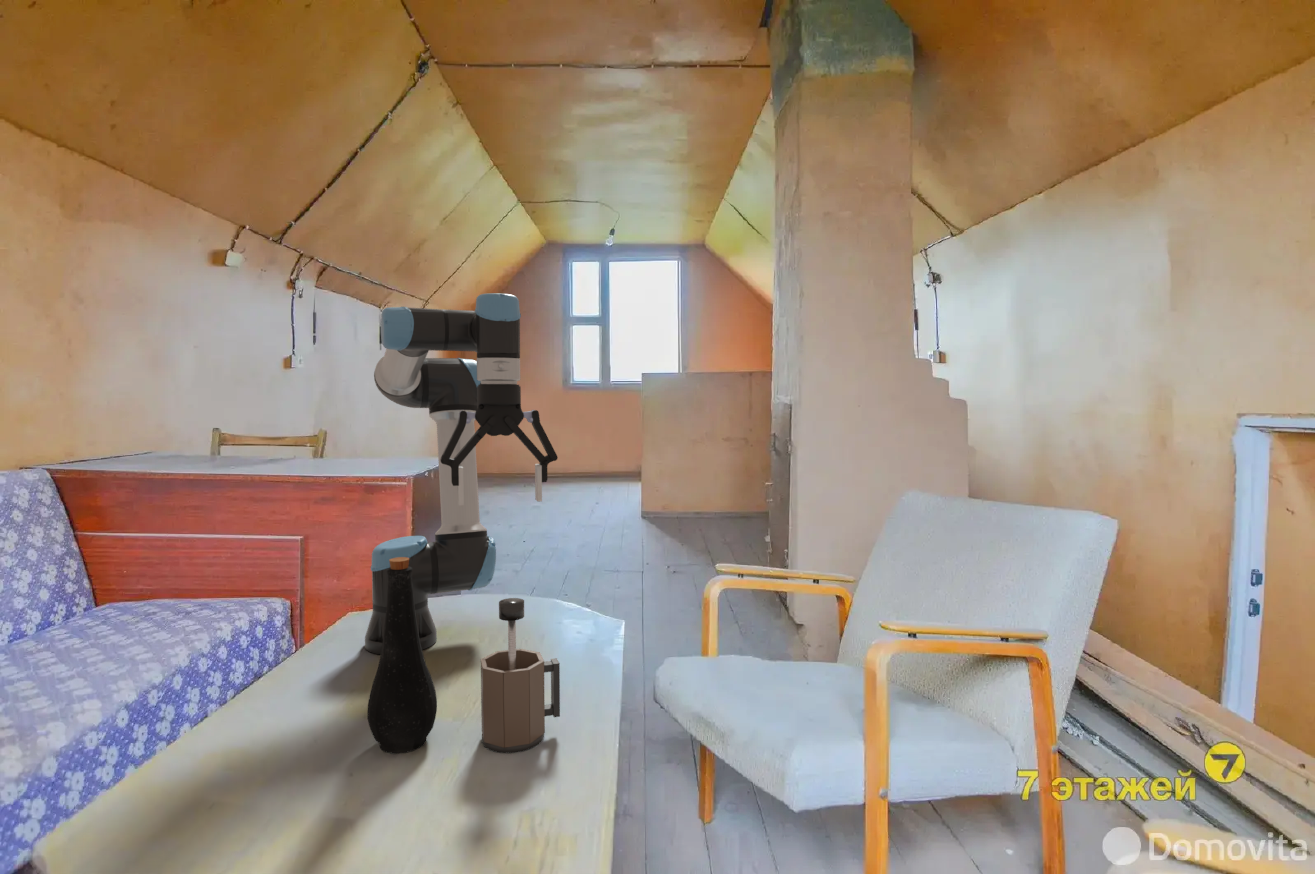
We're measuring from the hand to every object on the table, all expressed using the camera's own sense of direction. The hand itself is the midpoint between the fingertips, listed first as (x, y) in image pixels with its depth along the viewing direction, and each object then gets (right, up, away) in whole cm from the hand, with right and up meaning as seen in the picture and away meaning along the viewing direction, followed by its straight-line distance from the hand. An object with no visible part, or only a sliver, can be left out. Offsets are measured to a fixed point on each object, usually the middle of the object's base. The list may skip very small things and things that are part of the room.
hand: (500, 502), depth 129 cm
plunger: (+4, -36, -11) cm, 38 cm away
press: (+6, -37, -10) cm, 39 cm away
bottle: (-13, -38, -12) cm, 42 cm away
